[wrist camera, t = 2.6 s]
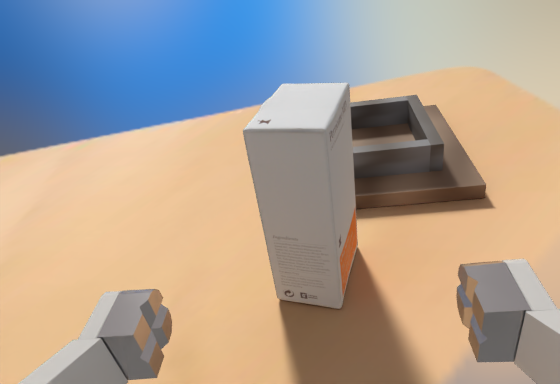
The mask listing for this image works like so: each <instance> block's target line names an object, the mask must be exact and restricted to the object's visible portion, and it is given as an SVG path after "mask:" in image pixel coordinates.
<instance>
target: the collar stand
mask: <svg viewBox="0 0 560 384" xmlns="http://www.w3.org/2000/svg"><path fill="white" fill-rule="evenodd" d="M350 108H351V127H352V145H353V162H354V182H355V201H356V209H360V208H372V207H384V206H395V205H407V204H419V203H430V202H442V201H454V200H466V199H477V198H484V196H485V189H486V184H485V182H484V180H483V179H482V177H481V176H480V174H479V173H478V171H477V169H476V168H475V166H474V165H473V163H472V161H471V160H470V158H469V157H468V155H467V154H466V152H465V150H464V149H463V147H462V146H461V144H460V143H459V141H458V139H457V138H456V136H455V135H454V133H453V131H452V130H451V128H450V127H449V125H448V124H447V122H446V120H445V119H444V117H443V116H442V114H441V112H440V111H439V109H438V108H437V106H436V105H430V106H423V105H422V103H421V102H420V100H419V98H418V96H417V95H411V96H403V97H395V98H386V99H378V100H369V101H361V102H352V103H350Z"/></svg>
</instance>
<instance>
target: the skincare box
mask: <svg viewBox="0 0 560 384" xmlns="http://www.w3.org/2000/svg"><path fill="white" fill-rule="evenodd" d="M243 135H244V140H245V145H246V150H247V155H248V160H249V165H250V169H251V174H252V178H253V183H254V188H255V193H256V198H257V202H258V207H259V212H260V216H261V221H262V226H263V231H264V235H265V241H266V245H267V250H268V255H269V260H270V265H271V270H272V275H273V279H274V284H275V289H276V294H277V298H278V299H281V300H287V301H293V302H299V303H306V304H312V305H319V306H325V307H330V308H337V309H340V308H341V307H342V304H343V299H344V294H345V290H346V286H347V282H348V278H349V274H350V270H351V267H352V263H353V260H354V257H355V253H356V250H357V246H358V241H357V220H356V201H355V182H354V162H353V145H352V127H351V108H350V90H349V84H348V83H322V84H321V83H320V84H319V83H318V84H282V85H281V86H280V87H279V88H278V89H277V91H276V92H275V93H274V94H273V95H272V96H271V97H270V98H268V99H267V100H266V101H265V102H264V104H263V105H262V106H261V107H260V109H259V111H258V113H257V114H256V115H255V116H254V118H253V119H252V120H251V121H250V122H249V123H248V125H247V126H246V127H245V128H244V129H243Z"/></svg>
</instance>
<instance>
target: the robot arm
mask: <svg viewBox="0 0 560 384" xmlns="http://www.w3.org/2000/svg"><path fill="white" fill-rule="evenodd" d="M458 277H459V279H460V282H461V284H460V285H459V286H458V287H457V306H458V311H459V315H460V318H461V321H462V323H463V325H465V326H466V327H467V328H468V329H469V337H468V340H469V342H470V345H471V347H472V350H473V353H474V355H475V358H476V360H477V362H514V363H515V364H516V365H517V366H518V367H519V368H520V369H521V370H522V371H523V372H524V373H525V374H526V375H528V376H529V377H530V378H531V379H532V380H533V381H534V382H535V383H536V384H560V309H557V308H556V306H555V304H554V303H553V301H552V299H551V298H550V296H549V295H548V293H547V292H546V290H545V288H544V287H543V285H542V284H541V282H540V281H539V279H538V277H537V276H536V274H535V273H534V271H533V269H532V268H531V266H530V265H529V263H528V262H527V261H526V260H525V259H514V260H503V261H492V262H481V263H470V264H460V267H459V271H458ZM162 299H163V297H162V295H161V293H160V291H159V290H157V289H146V290H127V291H115V292H106V293H104V294H103V295H102V296H101V298H100V300H99V301H98V303H97V305H96V307H95V309H94V311H93V312H92V314H91V316H90V318H89V320H88V322H87V323H86V325H85V327H84V329H83V331H82V333H81V334H80V336H79V338H78V340H72V341H71V342H70V343H68V344H67V345H66V346H65V347H63V348H62V349H61V350H60V351H58V352H57V353H56V354H55V355H53V356H52V357H51V358H50V359H48V360H47V361H46V362H45V363H43V364H42V365H41V366H40V367H38V368H37V369H36V370H35V371H33V372H32V373H31V374H30V375H28V376H27V377H26V378H25V379H23V380H22V381H21V382H20V383H18V384H127V382H128V381H127V380H136V379H148V378H157V376H158V373H159V370H160V367H161V364H162V361H163V358H164V355H163V352H162V350H161V349H162V348H163V347H164V346H165V345H166V344H167V343H168V342H169V340H170V336H171V333H172V319H171V314H170V312H169V310H168V308H166V307H165V306H163V305H162V304H161V302H162Z"/></svg>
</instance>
